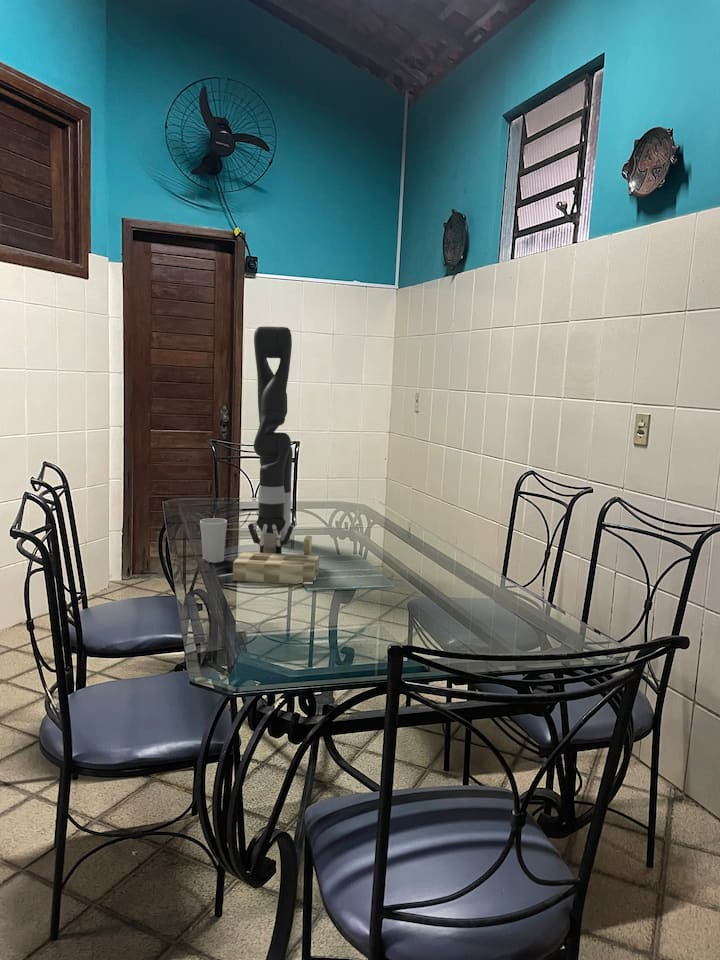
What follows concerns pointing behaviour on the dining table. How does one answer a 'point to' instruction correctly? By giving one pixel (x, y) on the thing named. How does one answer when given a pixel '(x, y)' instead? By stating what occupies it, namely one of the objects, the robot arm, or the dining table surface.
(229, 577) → the dining table surface
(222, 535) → the cup
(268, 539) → the square bit
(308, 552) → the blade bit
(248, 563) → the socket block
